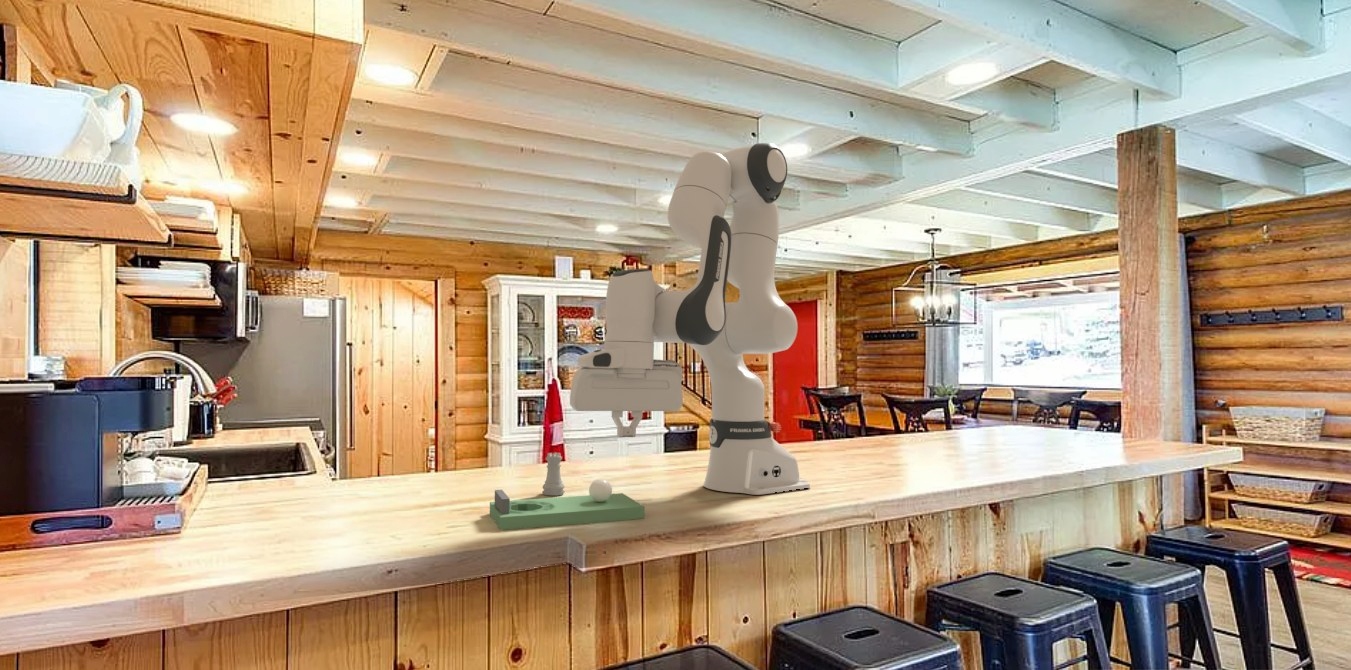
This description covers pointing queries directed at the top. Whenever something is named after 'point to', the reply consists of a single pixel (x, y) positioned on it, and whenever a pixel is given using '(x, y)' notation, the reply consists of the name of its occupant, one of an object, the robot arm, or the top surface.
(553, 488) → the rook chess piece
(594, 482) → the ball
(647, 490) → the top surface
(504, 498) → the green board
